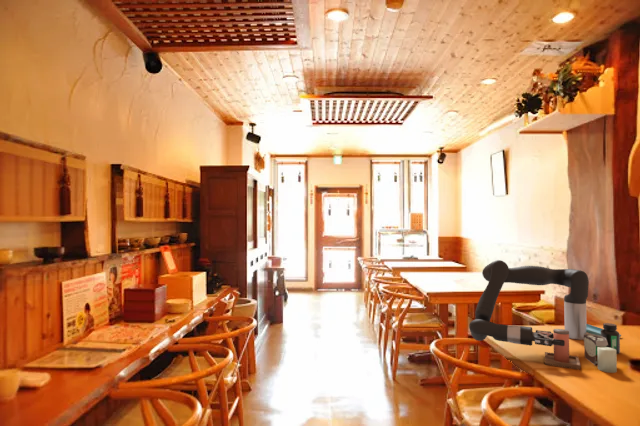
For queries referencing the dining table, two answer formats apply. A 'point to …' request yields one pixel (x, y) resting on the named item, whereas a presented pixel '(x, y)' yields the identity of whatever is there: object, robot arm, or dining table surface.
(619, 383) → the dining table surface
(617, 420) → the dining table surface
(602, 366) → the sage tin
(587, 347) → the food container
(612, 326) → the supplement bottle
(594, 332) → the shallow long dish
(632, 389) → the dining table surface
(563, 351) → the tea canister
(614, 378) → the dining table surface
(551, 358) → the tray
